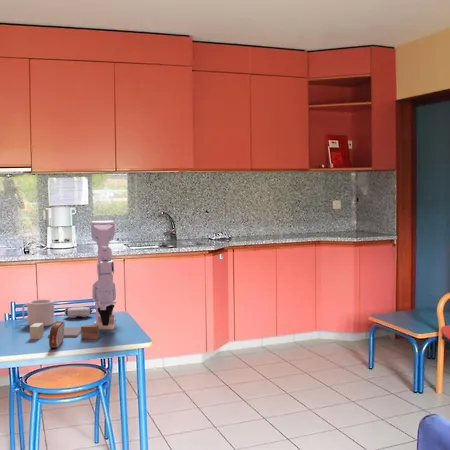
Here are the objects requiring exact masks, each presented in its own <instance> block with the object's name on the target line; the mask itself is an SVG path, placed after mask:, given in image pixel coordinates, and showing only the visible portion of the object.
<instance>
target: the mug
mask: <svg viewBox="0 0 450 450" xmlns="http://www.w3.org/2000/svg"><path fill="white" fill-rule="evenodd" d="M25 307H27V317H25ZM21 309H22V310H21V311H22V319H23V320H24V321H25V320H26V321H27V326H29V327H30V326H31V325H33V324H34V323H43V326H44V327H49V326H52V325H53V324H54V323H55V302H54V300H52V299H46V298H44V299H43V298H42V299H33V300H29V301H28V302H27V303H26V304H22V308H21Z"/></svg>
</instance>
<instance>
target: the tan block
mask: <svg viewBox="0 0 450 450" xmlns="http://www.w3.org/2000/svg"><path fill="white" fill-rule="evenodd" d="M115 318H116V317H115V314H113V315H110V318H109V324H108V326H103V324H102V320H101V316H100V315H99V316H98V328H99V330H114V329H115V327H116V325H115V322H116V319H115Z"/></svg>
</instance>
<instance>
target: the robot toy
mask: <svg viewBox="0 0 450 450" xmlns="http://www.w3.org/2000/svg"><path fill="white" fill-rule="evenodd" d="M92 312H94V309H91V308H90V307H89V306H83V305H73V306H71V307H66V308H65V309H64V314H65V315H66V316H67V317H70V318H71V319H76V318H77V317H81V318H83V317H84V318H87V317H88V316H90V315H91V314H92Z"/></svg>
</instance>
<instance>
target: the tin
mask: <svg viewBox="0 0 450 450" xmlns="http://www.w3.org/2000/svg"><path fill="white" fill-rule="evenodd" d="M64 327H65V322H64V321H62V320H60V321H58V320H56V321H54V323H53V324H52V325H51V327H50V331H49V334H50V335H49V334H48V335H49V337H48V338H49V339H48V345H49V348H50V349H58V348H59V347H60V346H61V344H62V343H63V341H64V339H65V337H64Z"/></svg>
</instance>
